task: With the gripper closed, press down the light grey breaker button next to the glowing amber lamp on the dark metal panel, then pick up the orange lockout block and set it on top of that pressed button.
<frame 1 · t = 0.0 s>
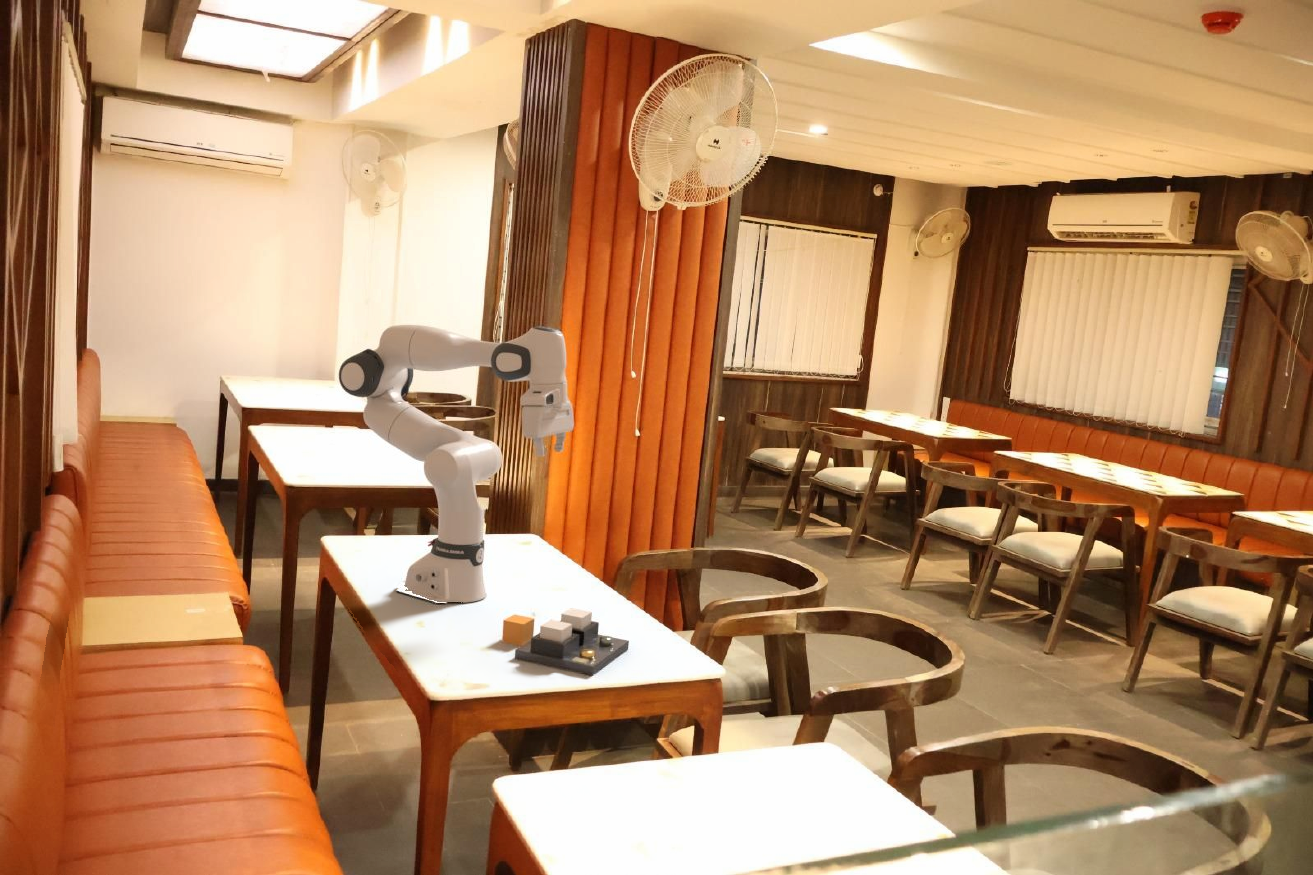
hand: (550, 453, 253), 39 cm above the table, tool pointing down, fingers open, 8 cm apart
lockout block: (517, 641, 235), on the table
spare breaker: (572, 654, 230), resting on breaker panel, slide at 0.0 cm
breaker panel: (572, 654, 230), on the table
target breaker: (572, 654, 230), resting on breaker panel, slide at 0.0 cm
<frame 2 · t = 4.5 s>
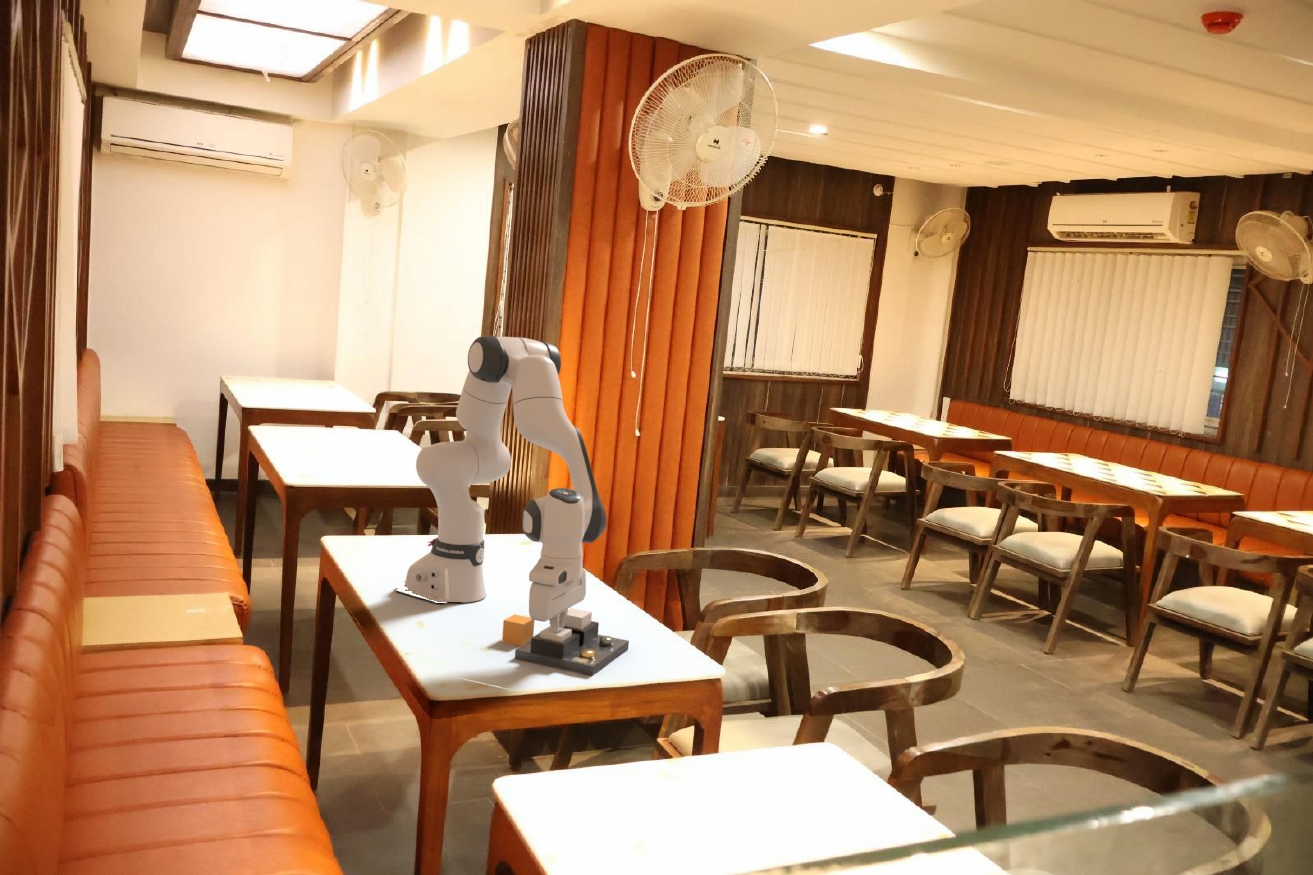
hand: (556, 630, 225), 6 cm above the table, tool pointing down, fingers closed
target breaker: (572, 659, 230), resting on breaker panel, slide at 1.3 cm, touching gripper
everything else where it was.
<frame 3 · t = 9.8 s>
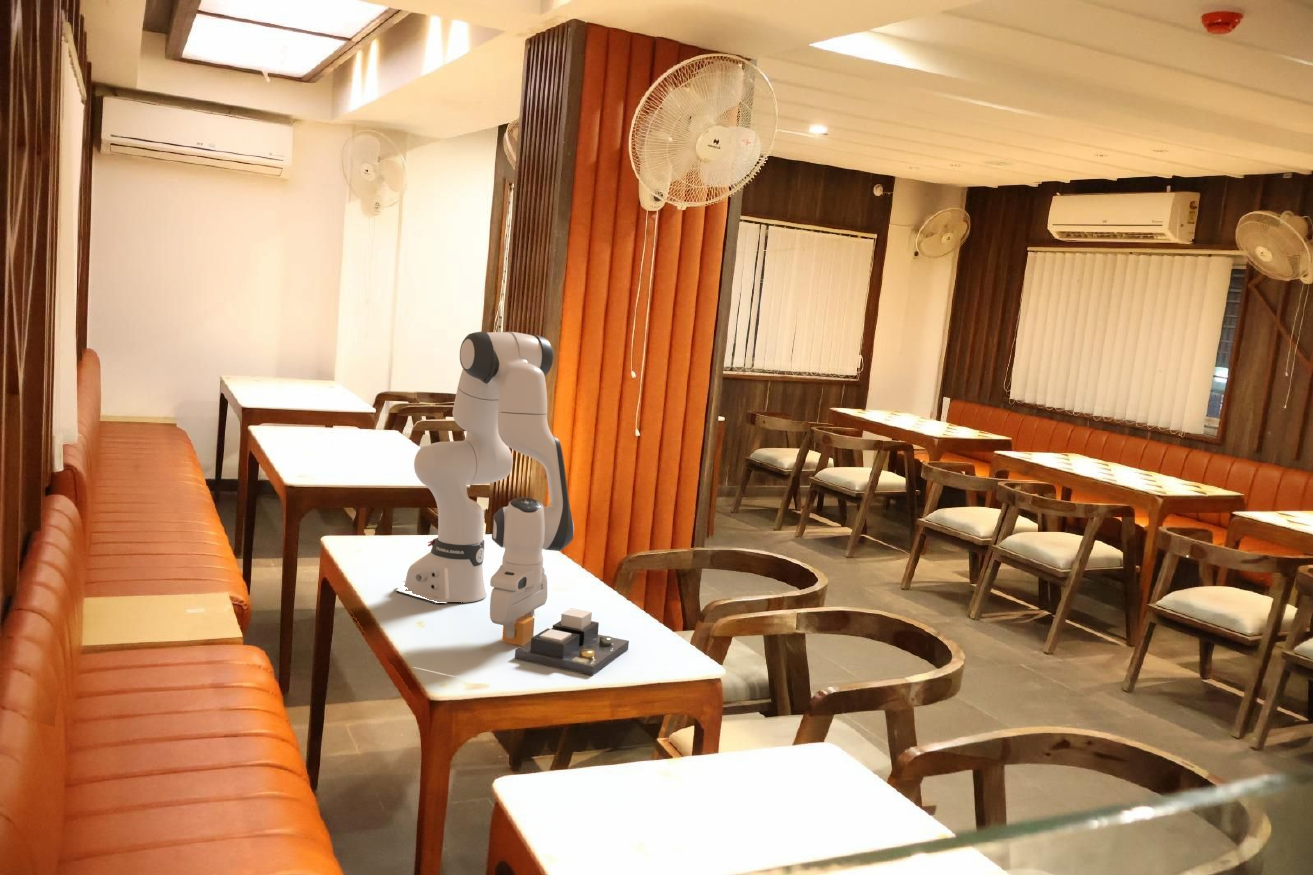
hand: (518, 633, 235), 2 cm above the table, tool pointing down, fingers closed on lockout block, 5 cm apart
lockout block: (517, 640, 235), on the table, touching gripper
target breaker: (572, 663, 230), resting on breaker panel, slide at 2.1 cm
everything else where it was.
when the fingers open (9 cm above the table, at t = 14.5 s): lockout block drops 2 cm, point 5 cm above the table.
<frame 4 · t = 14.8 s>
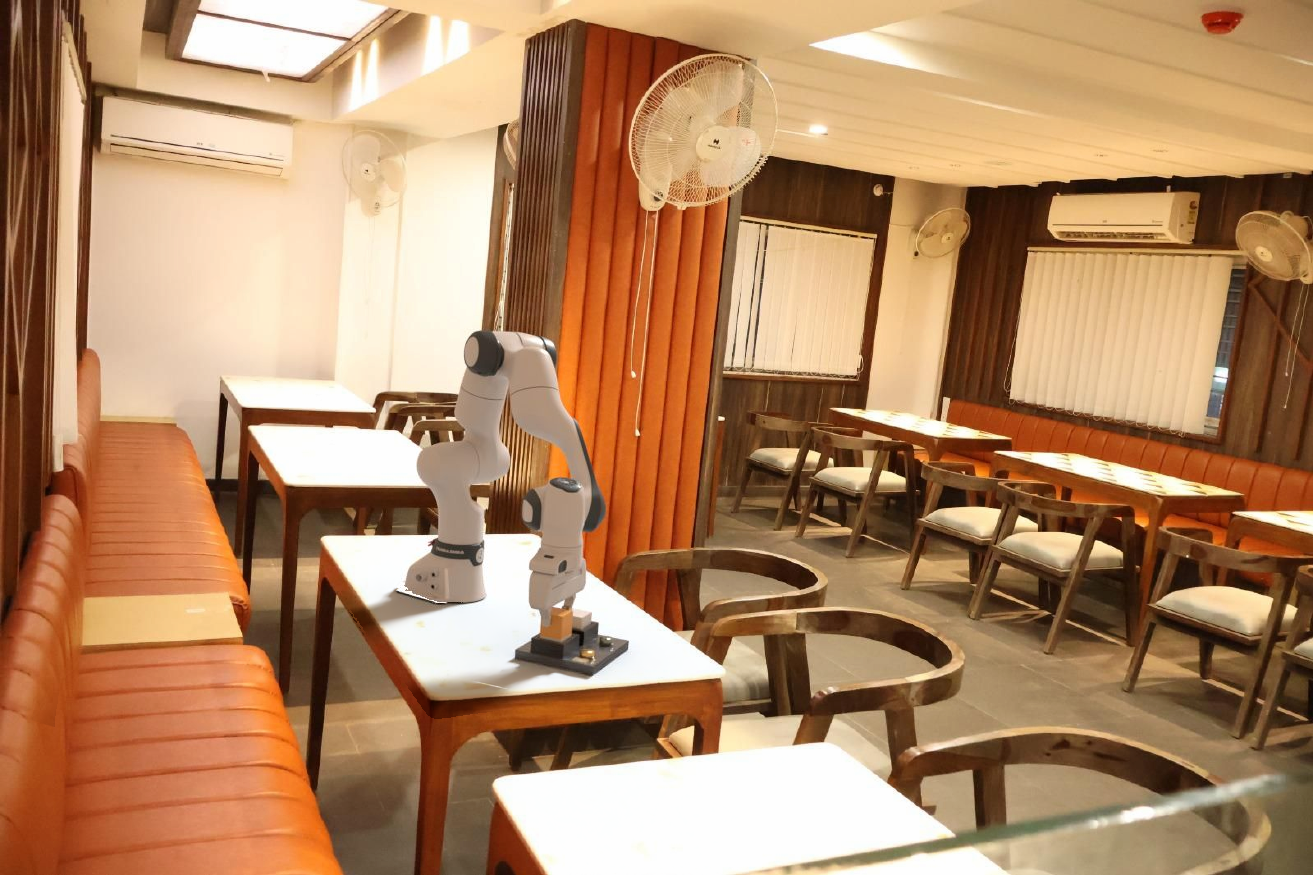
hand: (556, 620, 224), 9 cm above the table, tool pointing down, fingers open, 8 cm apart
lockout block: (555, 634, 225), point 5 cm above the table
everything else where it was.
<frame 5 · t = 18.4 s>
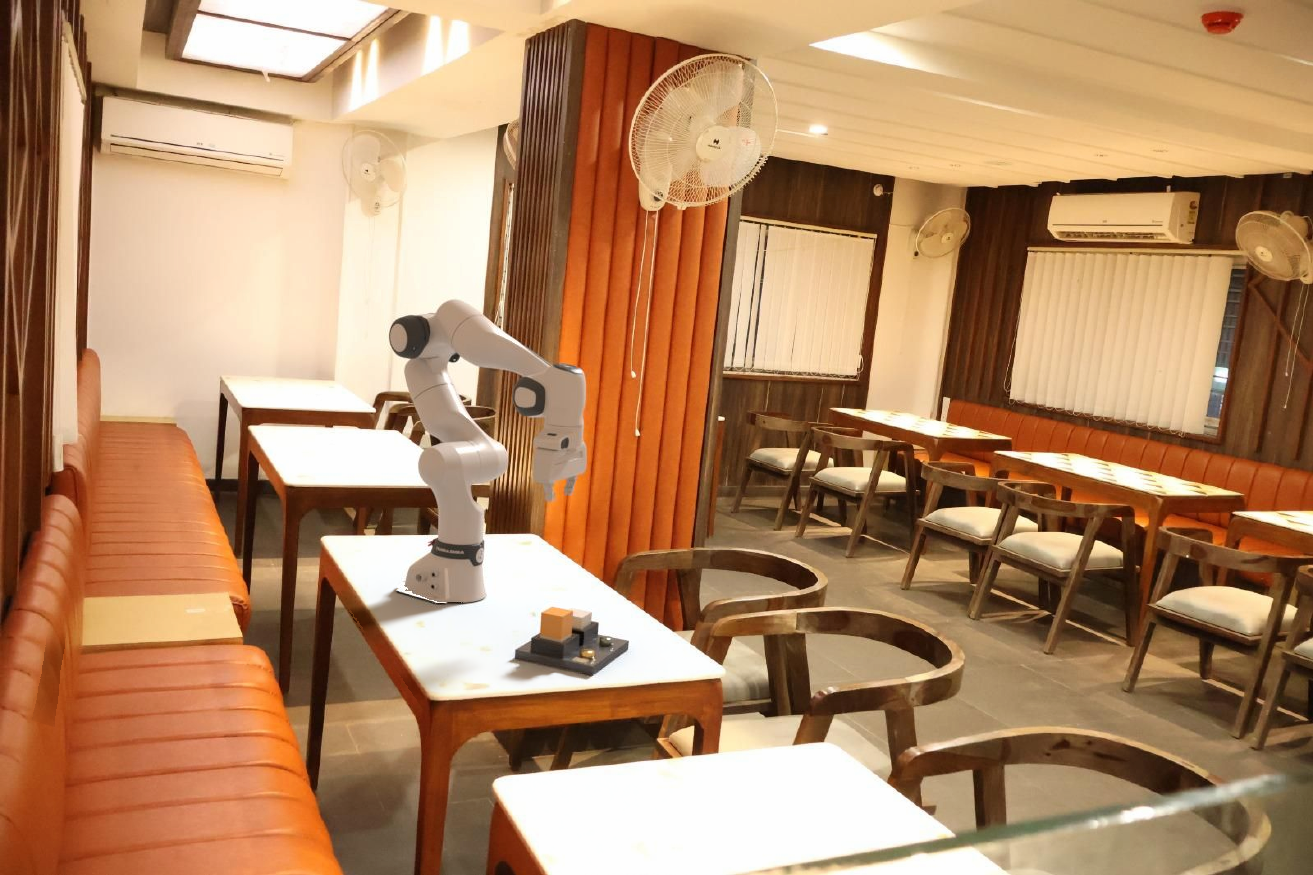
hand: (559, 497, 239), 31 cm above the table, tool pointing down, fingers open, 8 cm apart
nothing on the table moved.
at the end: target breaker slide at 2.1 cm; lockout block 0.0 cm from the target spot, point 5.4 cm above the table; lockout block tilted 0° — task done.
